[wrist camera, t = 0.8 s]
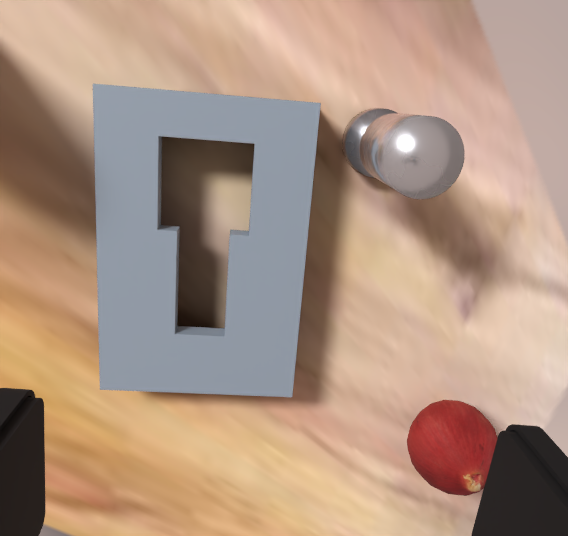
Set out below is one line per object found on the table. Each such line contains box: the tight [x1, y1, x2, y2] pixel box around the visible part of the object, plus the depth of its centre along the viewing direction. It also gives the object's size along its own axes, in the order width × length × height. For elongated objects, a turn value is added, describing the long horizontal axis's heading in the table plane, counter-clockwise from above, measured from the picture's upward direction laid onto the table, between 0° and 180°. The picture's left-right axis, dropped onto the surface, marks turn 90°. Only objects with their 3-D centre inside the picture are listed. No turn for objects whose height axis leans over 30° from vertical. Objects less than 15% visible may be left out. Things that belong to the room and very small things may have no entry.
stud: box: [342, 108, 464, 199], centre depth 28 cm, size 4×4×10 cm
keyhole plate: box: [93, 84, 321, 397], centre depth 32 cm, size 18×12×3 cm, turn 175°
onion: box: [407, 400, 497, 496], centre depth 35 cm, size 6×6×8 cm
